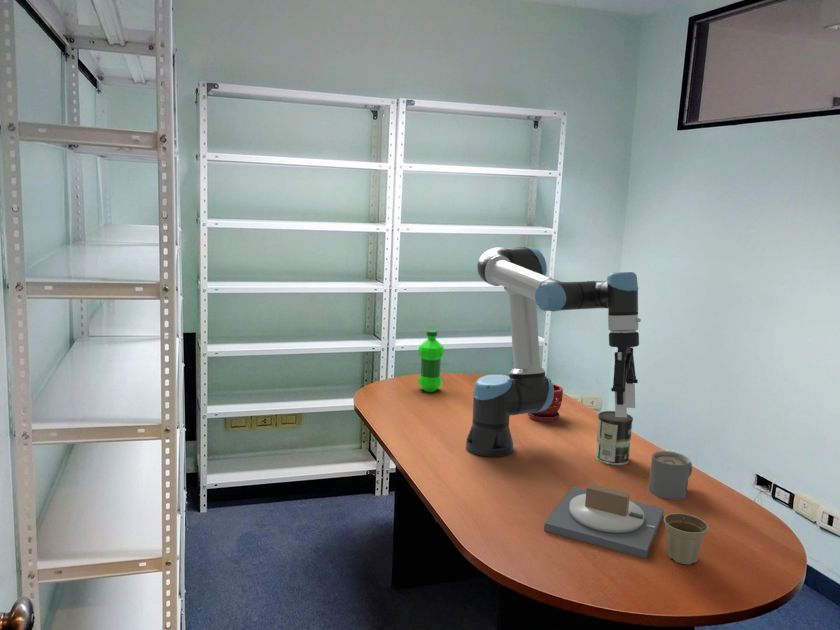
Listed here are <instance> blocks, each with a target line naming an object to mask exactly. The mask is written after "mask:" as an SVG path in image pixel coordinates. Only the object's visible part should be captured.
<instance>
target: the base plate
mask: <svg viewBox="0 0 840 630" xmlns="http://www.w3.org/2000/svg"><path fill="white" fill-rule="evenodd" d="M581 494H586V489H584V488H580V487H577V486H576V487H575V486H571V487H570V489H569V490H568V491H567V492H566V494H565V495H564V497H563V498H562V499H561V500H560V502H559V503H558V505H557V506H556V507H555V509H554V510H553V511H552V512H551V514H549V517H548V518H546V520H545V522H544V524H543V531H545V532H547V533H552V534H556V535H559V536H563V537H566V538H570V539H573V540H577V541H582V542H584V543H587V544H590V545H591V544H592V545H595V546H597V547H602V548H605V549H609V550H613V551H617V552H620V553H624V554H627V555H632V556H635V557H638V558H642V559H645V560H646V559H647V558H648V556H649V553H650V550H651V549H652V548H651V547H652V545H653V543H654V540H655V537H656V534H657V532H658V530H659V527H660V524H661V522H662V519H663V518H664V511H665V510H664V509H665V508H664V507H661V506H657V505H656V506H655V505H651V504H647V503H643V502H638V501H635V500H632V499H629V501H631V502H633V503H635V504H636V505H638V506H639V507H640V508H641V509H642V510H643V512H644V523H643V525H642V527H640V528H639V529H637V530H635V531H632V532H626V533H611V532H604V531H599V530H595V529H592V528H589V527H587V526H584V525H582V524H581V523H579V522H577V521H576V520H575V519H574V518H573V517H572V516H571V514H570V512H569V506H570V501H571V500H572V499H573V498H574V497H576V496H578V495H581Z"/></svg>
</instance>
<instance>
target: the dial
mask: <svg viewBox="0 0 840 630" xmlns="http://www.w3.org/2000/svg"><path fill="white" fill-rule="evenodd" d="M585 490H586V494H581V495H578V496H576V497H574V498H573V499H572V500H571V501H570V506H569V512H570V514H571V516H572V517H573V518H574V519H575V520H576V521H577V522H579V523H581V524H582V525H584V526H587V527H589V528H592V529H595V530H599V531H604V532H611V533H626V532H632V531H635V530H637V529H639V528H640V527H642V525H643V523H644V512H643V510H642V509H641V508H640V507H639V506H638V505H636V504H635V503H633V502H631V501H632V500H631V501H629V500H630V496H631V493H630V492H627V491H622V490H619V489H615V488H611V487H606V486H601V485H596V484H593V483H589V484H588V485H587V486H586V489H585Z"/></svg>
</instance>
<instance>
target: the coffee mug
mask: <svg viewBox="0 0 840 630" xmlns="http://www.w3.org/2000/svg"><path fill="white" fill-rule="evenodd" d="M692 471H693V463H692V461H691V459H690V458H689V457H687V455H684V454H683V453H682V454H681V453H680V452H679V453H678V452H675V451H667V450H659V451H655V452H653V453H652V454H651V462H650V473H649V483H648V484H649V485H648V491H649V492H650V493H652V494H653V495H655V496H656V497H659V498H662V499H666V500H683V499H685V498H686V497H687V495H688V485H689V478H690V477H691V475H692Z"/></svg>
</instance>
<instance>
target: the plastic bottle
mask: <svg viewBox="0 0 840 630" xmlns="http://www.w3.org/2000/svg"><path fill="white" fill-rule="evenodd" d="M426 336H427V339H426V340H424V342H422V343H421V344H420V345H419V347H418V352H417V353H418V356H419V357H420V358H421V361H420V362H421V363H420V375H419V378H418V379H417V381H418V386H420V388H422V389H423V391H424V392H428V393H429V392H430V393H433V392H436V391H437V390H438V389H439V388H440V387H441V386H442V384H443V379H442V378H443V377H442V376H441V361H442V360H441V359H442V357H444V355H445V348H444V345H442V344H441V343H440V342H439V341H438V340H437V336H438V331H437V330H434V329H427V330H426Z"/></svg>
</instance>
